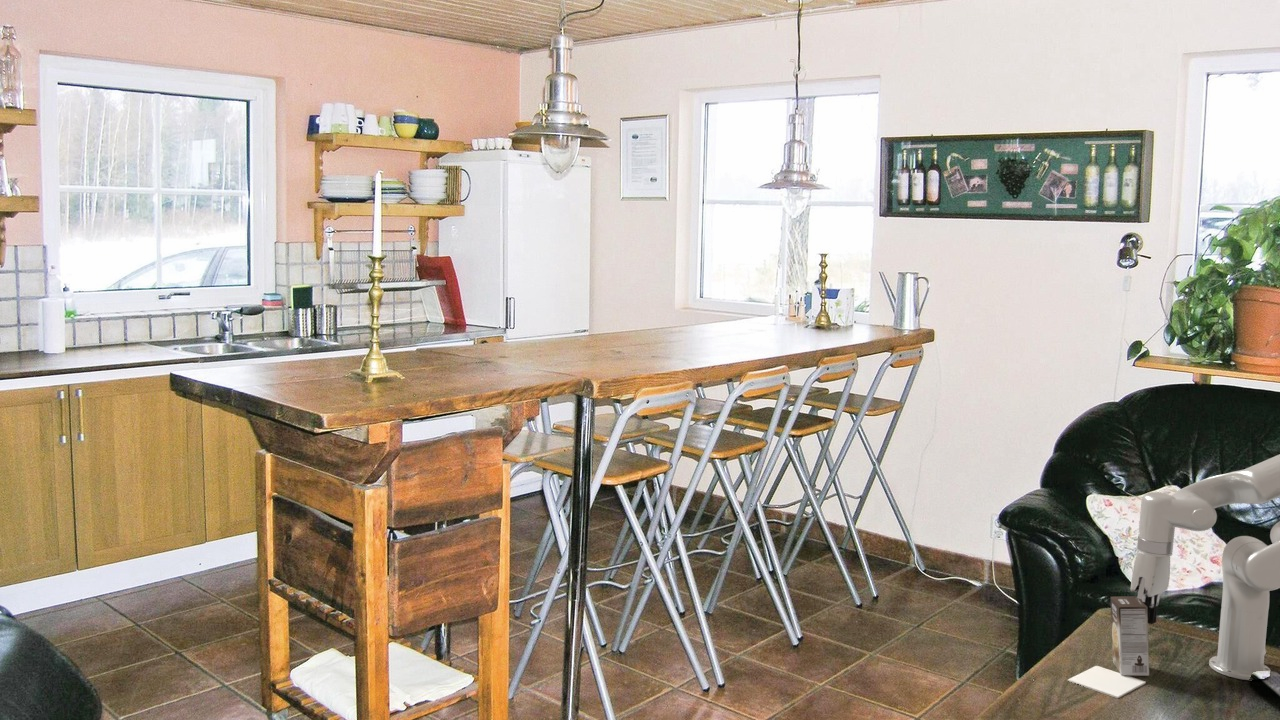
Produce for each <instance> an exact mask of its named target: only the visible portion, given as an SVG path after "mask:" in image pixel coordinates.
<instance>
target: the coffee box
mask: <svg viewBox="0 0 1280 720" xmlns="http://www.w3.org/2000/svg"><path fill="white" fill-rule="evenodd" d="M1137 596H1138V595H1132V596H1131V595H1130V596H1128V595H1127V596H1126V595H1125V596H1122V595H1121V596H1110V615H1111V618H1110V619H1111V641H1112V643H1111V644H1112V662H1113V664H1114V666H1115V667H1116V670H1117V672H1118V673H1120V674H1121V675H1127V676H1145V677H1146V676H1147V677H1148V676H1150V658H1149V654H1150V653H1149V625H1148V624H1149V623H1148V618H1147V606H1146V605H1145V604H1144V603H1143V601H1142V600H1138V599H1137Z"/></svg>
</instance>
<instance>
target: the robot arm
mask: <svg viewBox="0 0 1280 720" xmlns="http://www.w3.org/2000/svg"><path fill="white" fill-rule="evenodd" d="M1277 498H1280V454H1277V455H1275V456H1273V457H1270V458H1267V459H1265V460H1263V461H1261V462H1258V463H1256V464H1254V465H1251V466H1248V467H1246V468H1245V469H1240V470H1236V471H1230V472H1226V473H1223V474H1218V475H1213V476H1210V477H1207V478H1204V479H1201V480H1198V481H1196V482H1193V483H1192V484H1189V485H1187V486H1183V488H1180V489H1179V490H1177V491H1175V493H1173V494H1172V495H1171V494H1168V493H1163V492H1152V491H1150V492H1147V493H1145V494H1144V495H1142V497H1141V503H1140V514H1139V524H1138V535H1137V544H1136V551H1137V553H1136V556H1135V559H1134V563H1133V568H1132V575H1131V583H1130V592H1131V593H1137V595H1136V596H1137V599H1138V600H1142V601H1143V603H1144V604H1145V605H1146V606H1147V618H1148V624H1150V625H1153V624H1155V623H1157V617H1158V615H1157V614H1158V606H1159V603H1160V597H1161V595H1163V593H1164V592H1166V591H1167V590H1168V588H1169V586H1170V585H1169V584H1170V575H1171V557H1172V556H1173V550H1174V541H1175V533H1176V532H1175V531H1176V528H1178V529H1183V530H1188V531H1192V532H1205V531H1207V530H1209V529H1211V528H1213V527H1214V525H1215V524H1216V522H1217V519H1218V515H1217V511H1216V509H1217V508H1220V507H1223V506H1227V505H1234V504H1248V505H1259V504H1260V505H1261V504H1265V503H1269V502H1270V501H1273V500H1275V499H1277ZM1269 533H1270V534H1269V538H1270V541H1271V543H1272V544H1269V545H1268V544H1266V543H1265V542H1264V541H1262V540H1260V539H1258V538H1256V537H1253V536H1249V535H1240V536H1237V537H1234V538H1232V539H1231V540H1229V542H1227V544H1226V545H1225V546H1224V549H1223V551H1222V555H1221V556H1222V557H1221V558H1222V559H1221V564H1222V565H1221V567H1222V593H1221V594H1222V596H1221V597H1222V598H1221V608H1220V618H1219V619H1220V620H1219V631H1218V632H1219V633H1218V644H1217V655H1215V656H1212V657H1211V658H1209V662H1208V664H1209V667H1210V668H1211V669H1212V670H1214V671H1215V672H1217V673H1218V674H1221V675H1224V676H1227V677H1231V678H1233V679H1238V680H1244V681H1250V680H1249V679H1250V677H1251V674H1252V673H1253V672H1256V671H1271V668H1270V667H1269V666H1267V665H1265V663H1264V662H1265V655H1266V653H1267V649H1266V639H1267V629H1268V628H1267V627H1268V618H1269V609H1270V591H1275V590H1278V589H1280V520H1279V521H1278V522H1276V523H1275V524H1273V526H1272V528H1271V529H1270V532H1269Z"/></svg>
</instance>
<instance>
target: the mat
mask: <svg viewBox="0 0 1280 720" xmlns="http://www.w3.org/2000/svg"><path fill="white" fill-rule="evenodd" d="M1068 681H1069V683H1071V682H1072V684H1074V683H1076V684H1075V685H1077V684H1079V685H1078V686H1080V685H1081V686H1080V687H1083V686H1084V688H1086V689H1089V690H1092V691H1094V692H1098V693H1101V694H1104V695H1106V696H1110V697H1113V698H1116V699H1120V698H1121V697H1123V696H1125V695H1127V694H1129V693H1131V692H1132V691H1134V690H1135V689H1139V688H1140V687H1142V686H1144V685H1145V684H1147V683H1146V682H1147V681H1144V680H1142V679H1139V678H1135V677H1132V676H1131V675H1121V674H1120V672H1119V671H1114V670H1111V669H1109V668H1105V667H1102V666H1099V665H1094V666H1092V667H1090V668H1089V669H1087V670H1084V671H1082V672H1081V673H1080V672H1079V673H1078V674H1077V675H1074V676H1072V677H1070V678H1068V679H1067V682H1068Z"/></svg>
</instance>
